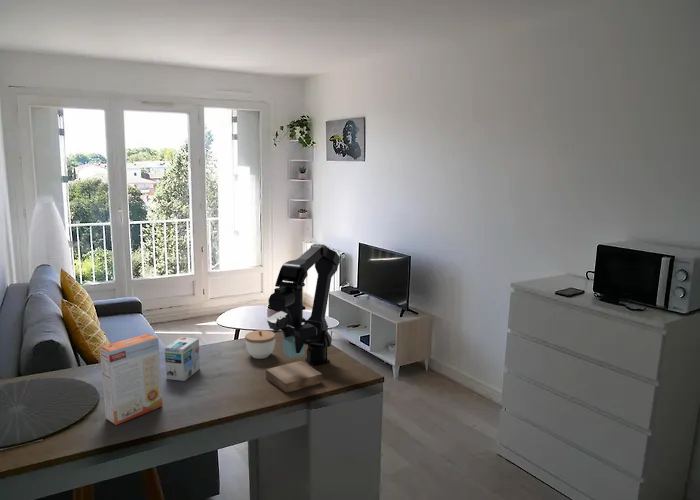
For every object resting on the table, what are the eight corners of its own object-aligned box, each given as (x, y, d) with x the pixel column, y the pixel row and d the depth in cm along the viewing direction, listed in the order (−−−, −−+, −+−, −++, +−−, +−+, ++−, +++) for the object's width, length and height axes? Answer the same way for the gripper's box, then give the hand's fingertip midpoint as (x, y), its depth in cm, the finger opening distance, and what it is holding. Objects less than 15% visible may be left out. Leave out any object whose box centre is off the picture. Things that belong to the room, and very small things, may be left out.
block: (296, 349, 167) (296, 335, 166) (304, 354, 163) (304, 339, 162) (282, 353, 164) (282, 338, 163) (290, 358, 160) (290, 342, 159)
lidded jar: (251, 349, 191) (250, 325, 190) (279, 351, 190) (278, 326, 188) (241, 360, 181) (240, 334, 179) (270, 362, 180) (270, 336, 178)
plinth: (300, 369, 174) (300, 360, 174) (321, 382, 164) (321, 373, 163) (266, 378, 166) (265, 369, 166) (286, 393, 156) (286, 383, 156)
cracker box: (152, 400, 150) (148, 332, 146) (163, 407, 146) (159, 337, 143) (104, 418, 139) (98, 345, 136) (114, 426, 136) (109, 351, 132)
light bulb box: (184, 381, 163) (183, 349, 161) (165, 379, 164) (163, 347, 162) (200, 368, 173) (199, 338, 171) (182, 366, 175) (181, 336, 173)
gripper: (256, 300, 163) (257, 346, 166) (285, 314, 149) (286, 365, 151) (287, 294, 170) (287, 339, 173) (318, 308, 155) (318, 357, 158)
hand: (293, 350), depth 163 cm, fingers closed on block, 5 cm apart
